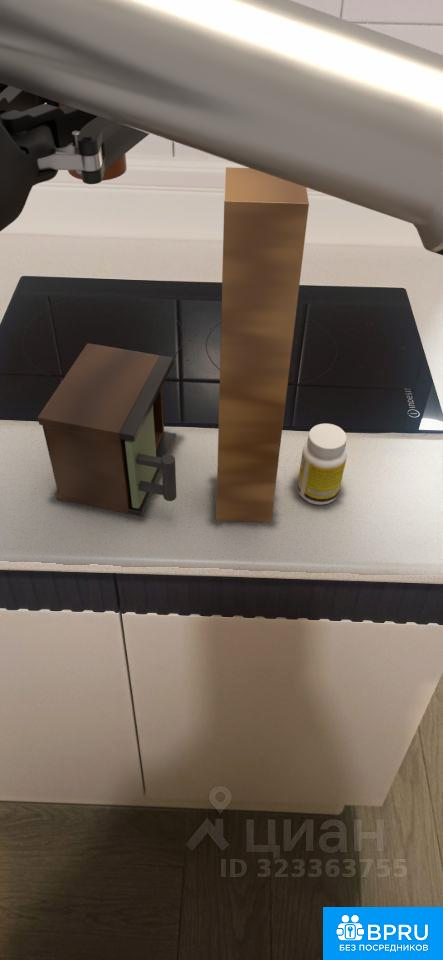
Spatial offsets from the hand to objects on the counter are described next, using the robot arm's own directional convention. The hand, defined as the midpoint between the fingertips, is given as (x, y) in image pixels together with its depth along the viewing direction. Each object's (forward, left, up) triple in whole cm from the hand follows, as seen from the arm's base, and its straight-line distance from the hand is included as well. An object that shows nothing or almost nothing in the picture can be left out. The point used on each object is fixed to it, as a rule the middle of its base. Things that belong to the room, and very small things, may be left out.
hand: (121, 72), depth 52 cm
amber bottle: (-1, +5, -5) cm, 8 cm away
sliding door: (-6, +7, -38) cm, 40 cm away
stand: (-14, +3, -39) cm, 42 cm away
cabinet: (+1, +6, -39) cm, 40 cm away
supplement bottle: (-21, -3, -40) cm, 45 cm away
